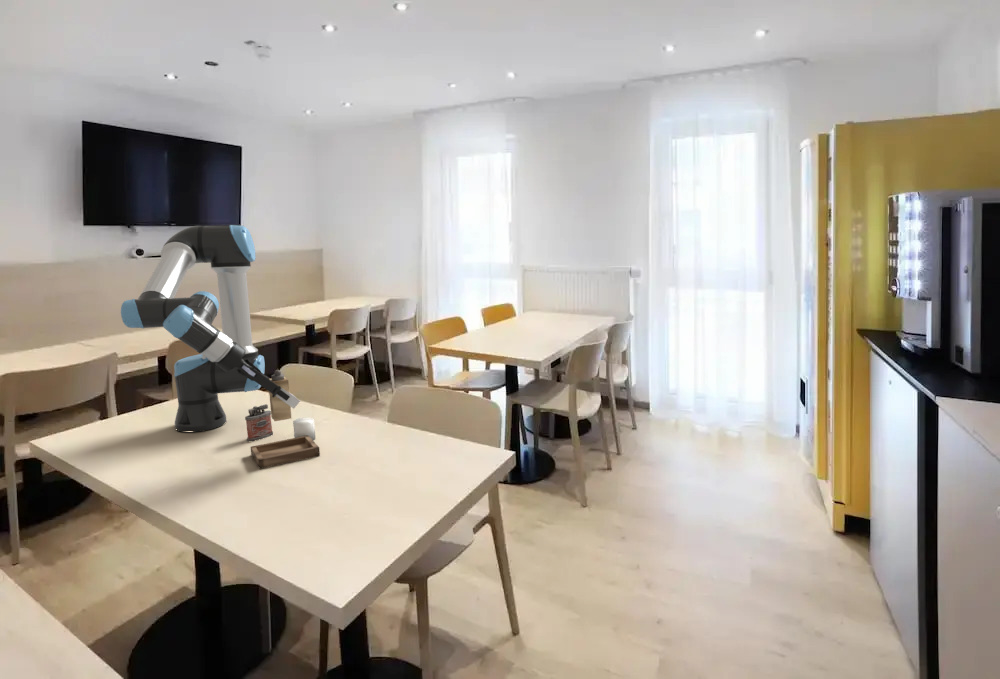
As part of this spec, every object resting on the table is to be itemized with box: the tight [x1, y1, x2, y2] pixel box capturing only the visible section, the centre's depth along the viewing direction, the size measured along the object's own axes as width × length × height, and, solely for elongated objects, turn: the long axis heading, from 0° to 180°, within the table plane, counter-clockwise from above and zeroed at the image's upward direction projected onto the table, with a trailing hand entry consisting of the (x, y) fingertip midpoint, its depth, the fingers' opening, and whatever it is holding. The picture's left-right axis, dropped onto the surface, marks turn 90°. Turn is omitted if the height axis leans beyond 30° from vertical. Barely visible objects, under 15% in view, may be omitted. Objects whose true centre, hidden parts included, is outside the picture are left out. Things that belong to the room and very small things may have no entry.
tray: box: [250, 435, 321, 470], centre depth 162 cm, size 12×16×2 cm
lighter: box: [244, 403, 274, 442], centre depth 176 cm, size 8×3×10 cm, turn 143°
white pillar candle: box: [292, 417, 316, 441], centre depth 174 cm, size 6×6×6 cm
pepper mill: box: [268, 369, 292, 422], centre depth 159 cm, size 4×4×14 cm
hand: (294, 402), depth 161 cm, fingers closed on pepper mill, 4 cm apart
